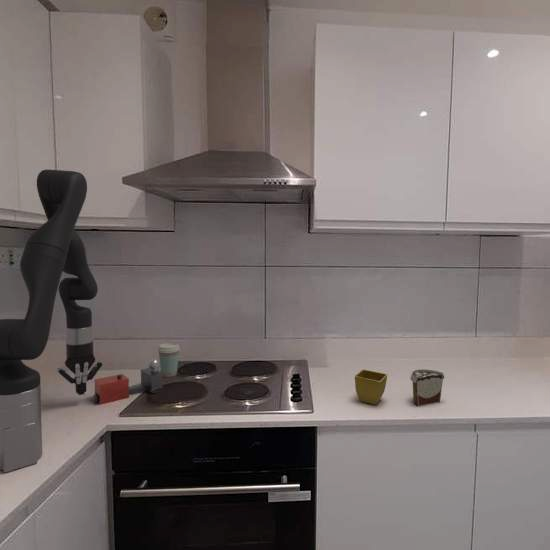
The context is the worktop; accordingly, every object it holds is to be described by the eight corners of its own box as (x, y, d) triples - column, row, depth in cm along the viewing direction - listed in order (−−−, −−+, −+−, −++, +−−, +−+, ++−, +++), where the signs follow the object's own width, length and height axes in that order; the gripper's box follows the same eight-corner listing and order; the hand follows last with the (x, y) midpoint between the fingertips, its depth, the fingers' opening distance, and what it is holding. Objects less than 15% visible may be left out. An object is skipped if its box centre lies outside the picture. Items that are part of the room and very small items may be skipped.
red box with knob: (128, 397, 120) (128, 376, 120) (100, 404, 115) (99, 382, 114) (122, 392, 125) (122, 371, 125) (94, 398, 120) (94, 377, 119)
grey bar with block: (165, 390, 127) (165, 361, 126) (98, 407, 113) (97, 374, 112) (154, 382, 135) (154, 354, 134) (90, 397, 120) (89, 366, 120)
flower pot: (387, 399, 122) (387, 373, 121) (379, 408, 114) (380, 381, 114) (361, 394, 126) (362, 369, 126) (353, 402, 119) (354, 376, 119)
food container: (429, 395, 126) (430, 367, 126) (443, 402, 120) (444, 372, 120) (401, 399, 122) (402, 371, 121) (414, 407, 116) (415, 377, 115)
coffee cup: (184, 374, 144) (184, 345, 143) (165, 380, 138) (165, 349, 137) (172, 369, 150) (172, 341, 149) (153, 374, 143) (153, 345, 142)
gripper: (57, 346, 106) (59, 403, 107) (105, 339, 114) (106, 392, 115) (53, 341, 111) (55, 395, 113) (99, 335, 120) (100, 385, 121)
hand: (81, 394), depth 114 cm, fingers closed
